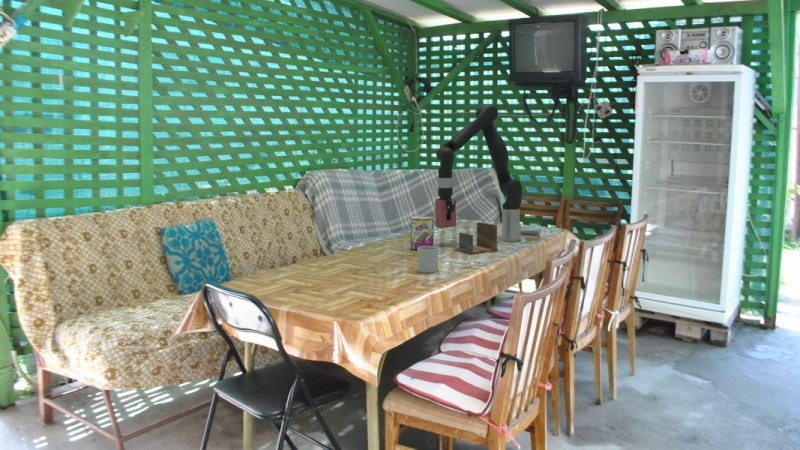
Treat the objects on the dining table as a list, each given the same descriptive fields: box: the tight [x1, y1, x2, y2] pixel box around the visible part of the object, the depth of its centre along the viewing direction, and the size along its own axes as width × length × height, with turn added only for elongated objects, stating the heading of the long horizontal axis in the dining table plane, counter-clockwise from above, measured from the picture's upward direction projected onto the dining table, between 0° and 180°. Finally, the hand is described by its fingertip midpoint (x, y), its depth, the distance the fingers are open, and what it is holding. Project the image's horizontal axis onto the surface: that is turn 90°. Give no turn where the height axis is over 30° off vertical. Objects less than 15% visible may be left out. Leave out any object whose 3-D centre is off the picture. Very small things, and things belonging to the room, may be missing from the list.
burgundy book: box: [434, 198, 457, 229], centre depth 347 cm, size 10×4×14 cm, turn 123°
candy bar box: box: [410, 216, 435, 251], centre depth 337 cm, size 11×5×16 cm, turn 84°
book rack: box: [453, 221, 498, 256], centre depth 332 cm, size 17×13×13 cm
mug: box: [416, 246, 439, 274], centre depth 288 cm, size 11×10×10 cm
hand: (445, 219), depth 347 cm, fingers closed on burgundy book, 4 cm apart
